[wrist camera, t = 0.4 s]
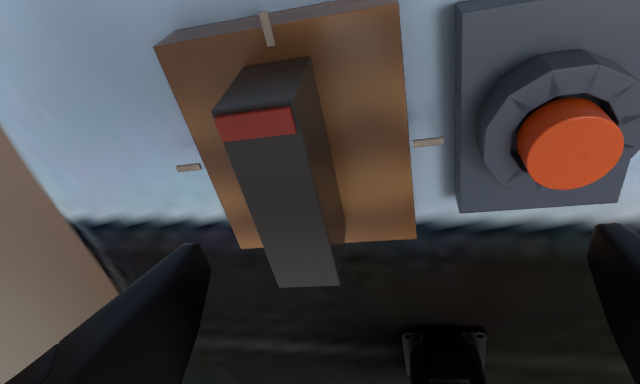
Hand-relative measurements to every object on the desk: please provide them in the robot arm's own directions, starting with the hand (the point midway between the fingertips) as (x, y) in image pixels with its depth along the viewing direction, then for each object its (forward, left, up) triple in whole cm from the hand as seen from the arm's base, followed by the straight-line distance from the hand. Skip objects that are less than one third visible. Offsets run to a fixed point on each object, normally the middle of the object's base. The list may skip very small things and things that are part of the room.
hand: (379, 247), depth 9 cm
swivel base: (-4, +5, -13) cm, 14 cm away
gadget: (-4, +5, -11) cm, 12 cm away
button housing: (-4, -7, -13) cm, 16 cm away
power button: (-4, -7, -10) cm, 13 cm away
